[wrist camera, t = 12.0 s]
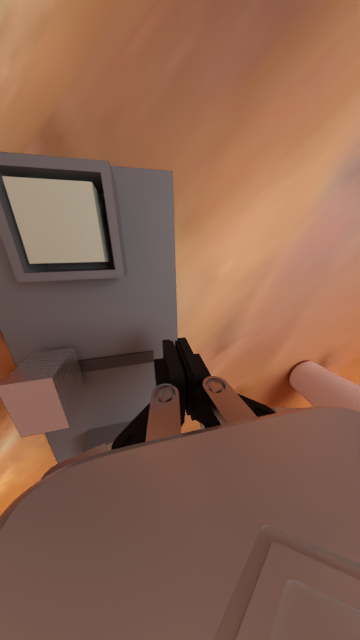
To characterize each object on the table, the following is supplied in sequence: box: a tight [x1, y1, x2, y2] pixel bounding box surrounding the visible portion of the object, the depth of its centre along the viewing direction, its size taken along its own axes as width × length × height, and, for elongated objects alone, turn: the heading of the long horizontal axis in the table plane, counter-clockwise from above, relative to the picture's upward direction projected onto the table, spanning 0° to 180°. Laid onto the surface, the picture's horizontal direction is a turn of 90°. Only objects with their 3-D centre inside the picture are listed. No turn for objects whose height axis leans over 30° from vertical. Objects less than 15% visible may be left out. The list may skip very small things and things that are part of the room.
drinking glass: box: [289, 361, 360, 411], centre depth 21 cm, size 7×7×15 cm
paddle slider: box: [0, 347, 86, 437], centre depth 13 cm, size 4×3×4 cm
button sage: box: [2, 176, 112, 264], centre depth 11 cm, size 4×4×3 cm
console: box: [0, 152, 178, 463], centre depth 16 cm, size 30×14×6 cm, turn 1°
